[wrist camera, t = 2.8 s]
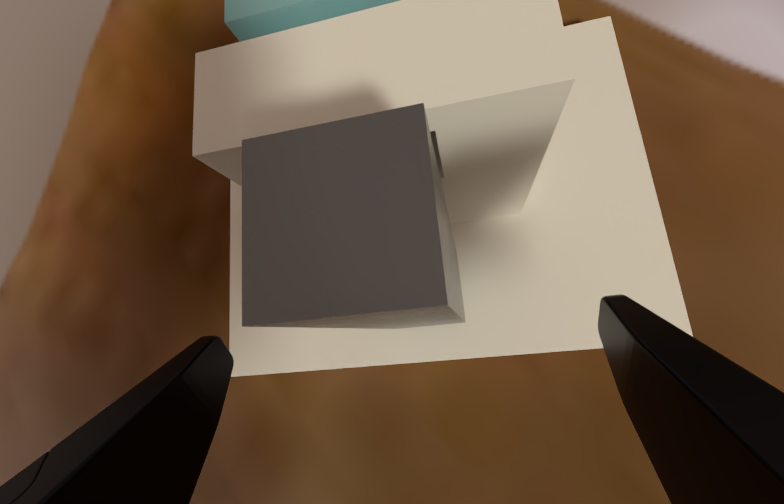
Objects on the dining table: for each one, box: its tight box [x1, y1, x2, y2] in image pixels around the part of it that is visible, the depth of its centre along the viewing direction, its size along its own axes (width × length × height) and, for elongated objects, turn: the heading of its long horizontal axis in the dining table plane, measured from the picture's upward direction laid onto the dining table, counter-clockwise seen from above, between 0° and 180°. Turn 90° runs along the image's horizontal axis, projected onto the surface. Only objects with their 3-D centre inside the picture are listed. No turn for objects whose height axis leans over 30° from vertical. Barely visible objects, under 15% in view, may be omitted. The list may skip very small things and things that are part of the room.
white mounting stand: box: [192, 0, 693, 377], centre depth 14 cm, size 15×20×11 cm
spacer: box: [224, 0, 400, 42], centre depth 13 cm, size 2×7×7 cm, turn 95°
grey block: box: [242, 103, 466, 329], centre depth 12 cm, size 12×3×12 cm, turn 5°
